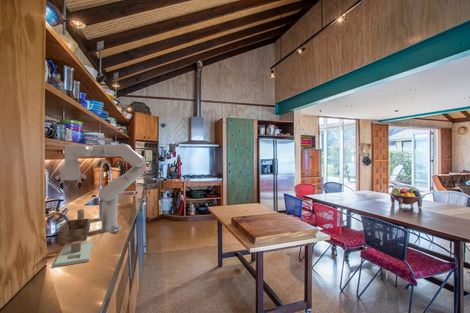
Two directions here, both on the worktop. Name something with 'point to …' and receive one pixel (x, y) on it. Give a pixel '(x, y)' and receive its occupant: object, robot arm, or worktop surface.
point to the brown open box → (74, 231)
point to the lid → (74, 253)
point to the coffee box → (100, 210)
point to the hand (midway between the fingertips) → (71, 188)
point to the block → (81, 214)
